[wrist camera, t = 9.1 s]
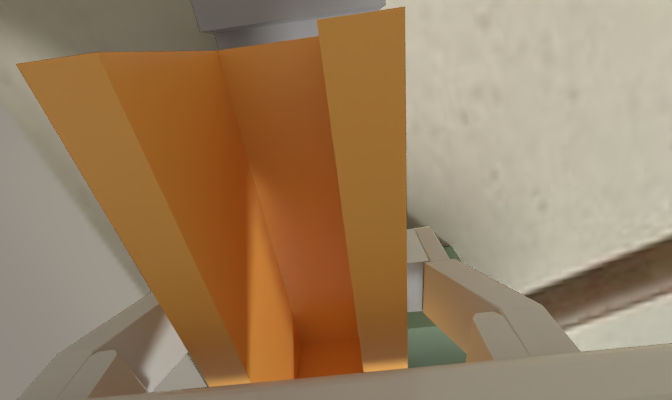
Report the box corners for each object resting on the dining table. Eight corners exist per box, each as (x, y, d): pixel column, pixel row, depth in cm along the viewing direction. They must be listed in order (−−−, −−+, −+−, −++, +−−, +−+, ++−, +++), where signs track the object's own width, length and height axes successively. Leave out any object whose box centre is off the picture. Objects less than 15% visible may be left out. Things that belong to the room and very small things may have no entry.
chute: (360, 31, 8) (405, 7, 3) (382, 327, 13) (408, 466, 9) (194, 55, 8) (16, 64, 3) (285, 337, 13) (264, 478, 9)
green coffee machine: (476, -34, 12) (1038, -356, 3) (443, 339, 24) (519, 536, 14) (121, 18, 13) (-513, -75, 3) (259, 357, 25) (213, 556, 15)
